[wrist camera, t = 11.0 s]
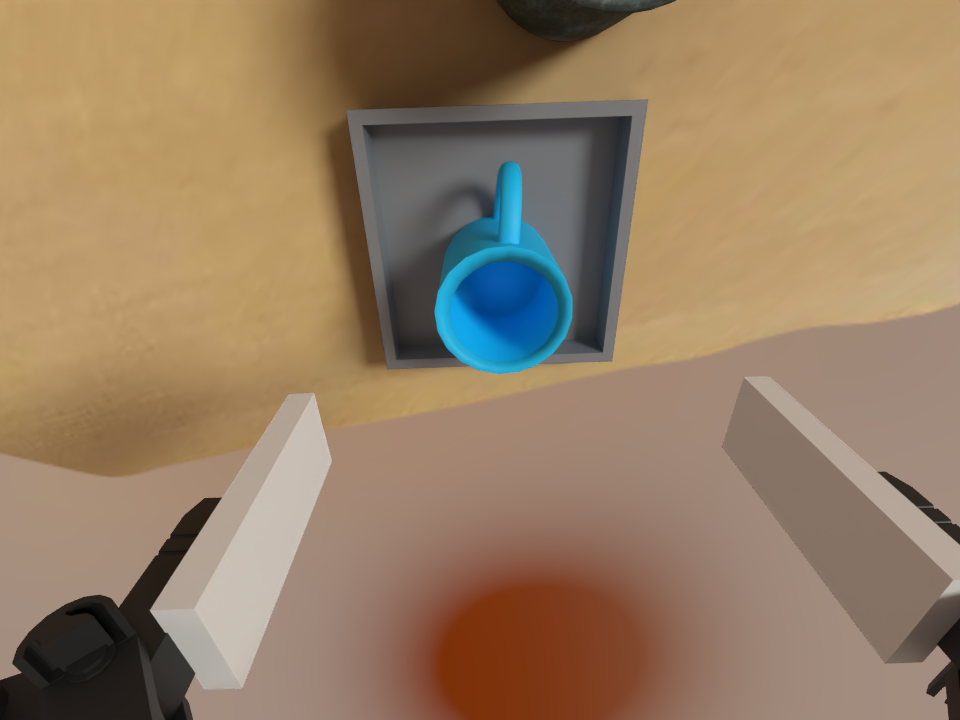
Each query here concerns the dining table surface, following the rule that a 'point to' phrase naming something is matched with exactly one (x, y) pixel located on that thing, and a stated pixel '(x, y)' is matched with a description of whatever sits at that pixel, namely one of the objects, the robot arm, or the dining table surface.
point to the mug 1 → (502, 289)
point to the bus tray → (470, 196)
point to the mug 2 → (573, 15)
